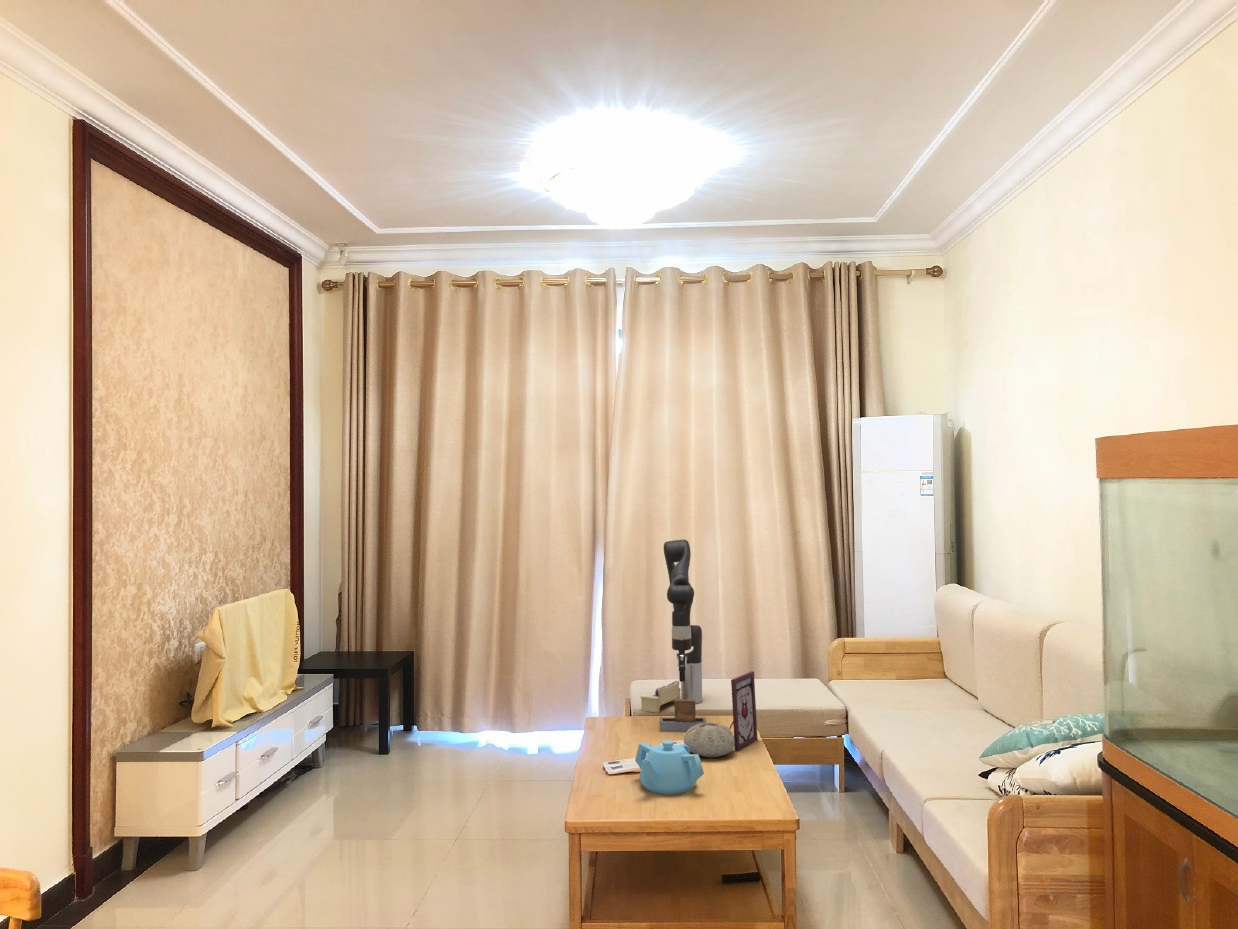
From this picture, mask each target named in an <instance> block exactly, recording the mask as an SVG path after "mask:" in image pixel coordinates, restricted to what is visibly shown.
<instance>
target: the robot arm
mask: <svg viewBox="0 0 1238 929" xmlns="http://www.w3.org/2000/svg"><path fill="white" fill-rule="evenodd" d="M690 545H691V544H690V542H689V540H687V539H676V540H669V541H665V542H664V544H663V554H664V558H665V560H664V561H665V565H666V569H667V573H668V580H669V586H668V588H667V592H666V597H667V601H668V602H670V604H672V607H673V608H672V609H673V611H672V613H671V649H672V650H673V651H678V653H676V660H677V667H678V672H679V677H678V678H679V679H678V681H679V683H680V689H681V690H680V699H695V704H700V703H702V702H703V672H702V671H703V668H702V666H703V664H702V663H703V661H702V657H703V656H702V654H703V653H702V652H703V651H702V648H703V647H702V646H703V643H702V642H703V631H702V630H703V629H702V627H701V626H700V625H697V624H695V625H693V624H691V611H692V605H693V602H694V597H695V590H694V587H692V585H691V583H690V578H689V569H690V562H691V556H692V554H691V546H690ZM675 563H676V564H675ZM691 649H692V650H691ZM686 651H688V652H686Z"/></svg>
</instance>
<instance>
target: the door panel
mask: <svg viewBox="0 0 1238 929" xmlns="http://www.w3.org/2000/svg"><path fill="white" fill-rule="evenodd" d="M674 718H675V721H691V722H696V718H697V717H696V703H695V699H681V698H680V699H675V703H674Z"/></svg>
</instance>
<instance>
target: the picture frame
mask: <svg viewBox="0 0 1238 929" xmlns="http://www.w3.org/2000/svg"><path fill="white" fill-rule="evenodd" d="M730 682H731V683H730V684H731V687H730V688H731V700H732V701H731V702H732V704H731V705H732V718H733V719H732V722H731V724H730V725H729V727H728V728H729V729H730V730H731V729H732V728H733V735H734V740H735V745H734V752H737V753H738V752H740V751H741V750H743V749H745V748H746V747H748V746H750V745H752V744H753V743H755V742H757V741H758V725H757V724H758V723H757V705H756V689H755V688H756V687H755V686H756V685H755V672H754V671H753V670H752V671H748V672H746V673H744V674H742V675H739V676H736V677H734V678H732V679H730Z"/></svg>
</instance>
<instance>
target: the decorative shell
mask: <svg viewBox="0 0 1238 929" xmlns="http://www.w3.org/2000/svg"><path fill="white" fill-rule="evenodd" d="M729 728H730V727H728V726H726V725H724V724H720V723H719V722H713V721H712V722H711V721H709V722H706V723H699V724H697V725H694V726H692V727H691V728H690V729H689V730H687V732H685V734H684V736H683V744H685V745H687V746H688V747H689V749H690V753H692V754H698V755H699V756H702V757H706V758H718V757H722V756H725V755H728V754H729V753H731V752H732V750H733V749H734V748H735V740H734V732H733V731H732V730H731V729H729Z"/></svg>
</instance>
